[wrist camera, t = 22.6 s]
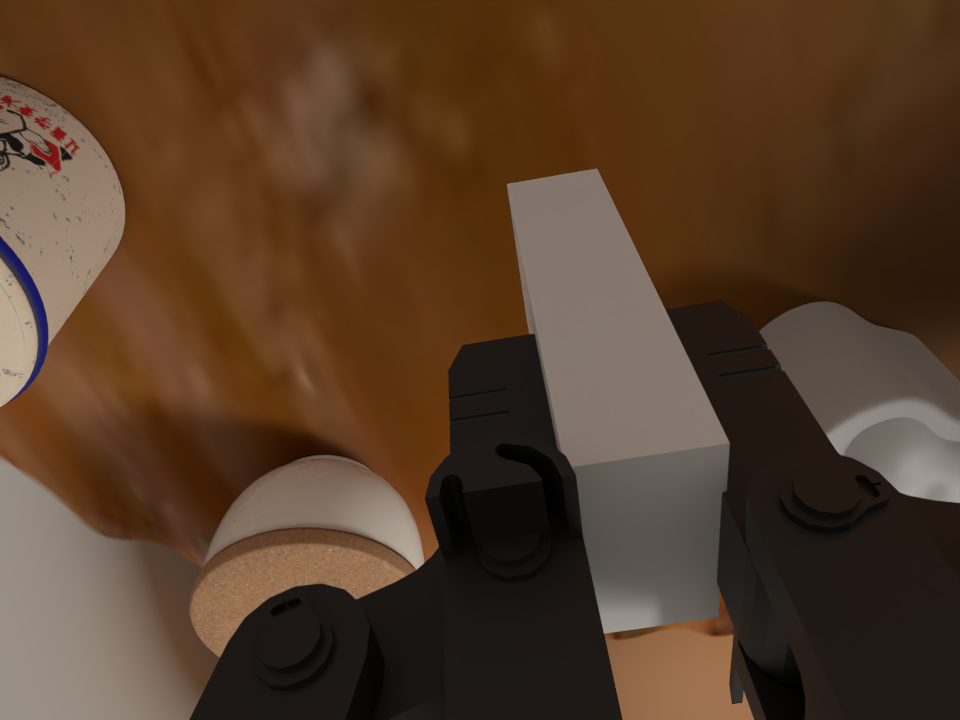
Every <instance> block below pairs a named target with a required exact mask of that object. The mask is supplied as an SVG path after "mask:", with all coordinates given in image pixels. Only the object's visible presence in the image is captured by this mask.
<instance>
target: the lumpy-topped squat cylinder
mask: <svg viewBox="0 0 960 720" xmlns="http://www.w3.org/2000/svg"><path fill="white" fill-rule="evenodd" d="M759 332H760V334H761V335H762V337H763V338H764V340H765V342H766V343H767V347H768V350H769V349H771V351H772V352H773V354H774V355H775V357H776V358H777V360H778V362H779V363H780V365H781V370H782V371H785V372H786V374H787V375H788V377H789V378H790V380H791V382H792V383H793V385H794V386H795V388H796V389H797V391H798V392H799V394H800V395H801V397H802V398H803V400H804V402H805V403H806V405H807V406H808V408H809V409H810V411H811V412H812V414H813V415H814V417H815V418H816V420H817V422H818V423H819V425H820V426H821V428H822V429H823V431H824V432H825V434H826V435H827V437H828V438H829V440H830V442H831V443H832V445H833V446H834V448H835V449H836V451H837V452H838V453H839V454H840V455H843V456H847V457H851V458H854V459H855V460H857V461H859V462H861V463H863V464H865V465H867V466H869V467H871V468H872V469H874V470H876V471H878V472H879V473H880V474H881V475H882V476H883V477H884V478H885V479H886V480H887V481H889V482H890V483H891V484H892V485H893V486H894V487H895V488H896V489H897V490H898V491H899V492H900V493H903V494H906V495H909V496H914V497H919V498H925V499H930V500H937V501H946V502H956V503H960V381H959V380H958V379H957V378H956V377H955V376H954V375H953V374H952V373H951V372H950V371H949V370H948V369H947V368H946V367H945V366H944V365H943V363H942V362H941V361H940V360H939V359H938V358H937V357H936V356H935V355H934V354H933V353H932V352H931V351H930V350H929V349H928V348H927V347H926V346H925V345H924V344H923V343H922V342H921V341H920V340H919V339H918V338H917V337H915V336H914V335H912V334H910V333H907V332H904V331H900V330H895V329H890V328H885V327H881V326H878V325H875V324H873V323H870V322H868V321H866V320H865V319H863V318H862V317H860V316H859V315H857V314H856V313H854V312H853V311H851V310H850V309H848V308H846V307H844V306H842V305H840V304H837V303H833V302H826V301H822V302H813V303H808V304H805V305H802V306H799V307H796V308H794V309H791V310H789V311H787V312H785V313H783V314H782V315H780V316H778V317H777V318H775V319H774V320H772V321H771V322H770V323H768V324H767V325H766V326H765V327H763V328H762V329H761V330H760V331H759Z"/></svg>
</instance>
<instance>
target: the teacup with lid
mask: <svg viewBox="0 0 960 720" xmlns="http://www.w3.org/2000/svg"><path fill="white" fill-rule="evenodd" d="M124 224H125V202H124V197H123V192H122V188H121V185H120V181H119V179H118V176H117V174H116V171H115V169H114V167H113V165H112V163H111V161H110V159H109V158H108V156H107V154H106V153H105V151H104V150H103V148H102V147H101V146H100V144H99V143H98V141H97V140H96V139H95V138H94V137H93V135H92V134H91V133H90V132H89V131H88V130H87V129H86V128H85V127H84V126H83V125H82V124H81V123H80V122H79V121H78V120H77V119H76V118H75V117H74V116H72V115H71V114H70V113H69V112H68V111H66V110H65V109H64V108H62V107H61V106H60V105H58V104H57V103H56V102H54V101H52V100H51V99H49V98H48V97H46V96H44V95H43V94H41V93H39V92H37V91H35V90H34V89H31V88H29V87H27V86H25V85H23V84H20V83H18V82H15V81H12V80H10V79H7V78H3V77H0V407H1V406H3V405H5V404H7V403H9V402H10V401H12V400H13V399H15V398H16V397H18V396H19V395H20V394H21V393H22V392H23V391H25V390H26V389H27V388H28V386H29V385H30V384H31V383H32V382H33V381H34V379H35V378H36V376H37V375H38V373H39V371H40V369H41V367H42V365H43V363H44V360H45V357H46V353H47V348H48V345H49V344H50V342H51V341H52V339H53V338H54V337H55V335H56V334H57V332H58V331H59V330H60V328H61V327H62V325H63V324H64V323H65V321H66V320H67V318H68V317H69V316H70V314H71V313H72V311H73V310H74V309H75V307H76V306H77V305H78V303H79V302H80V300H81V299H82V298H83V296H84V295H85V293H86V292H87V291H88V289H89V288H90V286H91V285H92V284H93V282H94V281H95V279H96V278H97V277H98V275H99V274H100V272H101V271H102V270H103V268H104V267H105V265H106V264H107V263H108V261H109V260H110V258H111V257H112V255H113V254H114V252H115V251H116V249H117V247H118V245H119V243H120V240H121V237H122V234H123V230H124Z"/></svg>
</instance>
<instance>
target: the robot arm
mask: <svg viewBox="0 0 960 720" xmlns="http://www.w3.org/2000/svg"><path fill="white" fill-rule="evenodd" d="M507 189H508V196H509V202H510V209H511V216H512V223H513V230H514V236H515V243H516V250H517V257H518V264H519V270H520V277H521V284H522V291H523V298H524V304H525V311H526V318H527V324H528V329H529V335H523V336H517V337H510V338H504V339H498V340H492V341H486V342H480V343H473V344H467V345H463V346H462V347H461V349H460V351H459V353H458V354H457V356H456V358H455V360H454V362H453V363H452V365H451V367H450V369H449V370H448V375H449V400H450V403H449V415H450V455H449V456H447V457H446V458H445V459H444V460H443V462H442V463H441V464H440V465H439V467H438V468H437V469H436V470H435V472H434V473H433V474H432V475H431V477H430V481H429V485H428V488H427V492H426V496H425V501H426V504H427V507H428V511H429V514H430V517H431V520H432V524H433V527H434V530H435V534H436V537H437V540H438V543H439V548H438V549H437V550H436V552H435V553H434V554H433V556H432V557H431V558H430V559H428V560H427V561H426V562H425V563H424V564H423V565H421V566H420V567H419V568H418V569H417V570H416V571H414V572H412V573H410V574H409V575H407V576H405V577H403V578H402V579H400V580H398V581H396V582H394V583H392V584H389V585H387V586H385V587H383V588H380V589H378V590H376V591H374V592H372V593H369V594H367V595H365V596H363V597H360V598H358V599H355V598H354V597H353V596H352V595H351V594H350V593H349V592H347V591H346V590H345V589H341V588H338V587H334V586H330V585H327V584H323V583H320V584H311V585H302V586H295V587H293V588H290V589H288V590H286V591H284V592H281V593H279V594H277V595H275V596H272V597H270V598H268V599H267V600H266V601H265V602H263V603H262V604H261V605H260V606H258V607H257V608H256V609H255V610H254V611H252V612H251V613H250V614H249V615H247V616H246V617H245V618H244V620H243V621H242V623H241V624H240V626H239V627H238V628H237V630H236V631H235V633H234V634H233V636H232V637H231V638H230V640H229V641H228V643H227V645H226V647H225V649H224V651H223V653H222V655H221V657H220V659H219V661H218V663H217V665H216V667H215V669H214V671H213V673H212V675H211V677H210V680H209V681H208V683H207V685H206V687H205V689H204V692H203V693H202V696H201V698H200V700H199V702H198V704H197V706H196V708H195V710H194V712H193V714H192V716H191V718H190V720H622V716H621V711H620V706H619V702H618V697H617V693H616V688H615V683H614V679H613V674H612V669H611V665H610V660H609V655H608V650H607V646H606V641H605V636H604V633H611V632H618V631H625V630H632V629H640V628H647V627H654V626H661V625H668V624H676V623H683V622H690V621H697V620H705V619H712V618H718V616H719V600H720V592H721V595H722V597H723V600H724V603H725V605H726V608H727V611H728V613H729V616H730V618H731V621H732V624H733V626H734V637H733V648H732V659H731V670H730V681H729V685H730V693H731V699H732V704H736V703H742V700H743V691H744V692H745V695H746V698H747V701H748V703H749V706H750V708H751V712H752V714H753V717H754V720H960V503H956V502H946V501H937V500H930V499H925V498H919V497H914V496H909V495H906V494H903V493H900V492H899V491H898V490H897V489H896V488H895V487H894V486H893V485H892V484H891V483H890V482H889V481H887V480H886V479H885V478H884V477H883V476H882V475H881V474H880V473H879V472H878V471H876V470H874V469H872V468H871V467H869V466H867V465H865V464H863V463H861V462H859V461H857V460H855V459H854V458H851V457H847V456H843V455H840V454H839V453H838V452H837V451H836V449H835V448H834V446H833V445H832V443H831V442H830V440H829V438H828V437H827V435H826V434H825V432H824V431H823V429H822V428H821V426H820V425H819V423H818V422H817V420H816V418H815V417H814V415H813V414H812V412H811V411H810V409H809V408H808V406H807V405H806V403H805V402H804V400H803V398H802V397H801V395H800V394H799V392H798V391H797V389H796V388H795V386H794V385H793V383H792V382H791V380H790V378H789V377H788V375H787V374H786V372H785V371H782V370H781V365H780V363H779V362H778V360H777V358H776V357H775V355H774V354H773V352H772V351H771V349H769V350H768V347H767V343H766V342H765V340H764V338H763V337H762V335H761V334H760V332H759V331H758V329H757V328H756V326H755V325H754V323H753V322H752V320H751V319H750V318H748V317H747V316H745V315H743V314H742V313H740V312H739V311H737V310H736V309H734V308H732V307H731V306H729V305H728V304H726V303H725V302H723V301H717V302H711V303H704V304H698V305H692V306H686V307H680V308H674V309H667V310H665V308H664V306H663V304H662V302H661V300H660V298H659V296H658V294H657V291H656V289H655V287H654V285H653V283H652V281H651V279H650V277H649V275H648V273H647V271H646V269H645V267H644V265H643V262H642V260H641V258H640V256H639V254H638V252H637V250H636V248H635V246H634V244H633V242H632V240H631V238H630V236H629V234H628V231H627V229H626V227H625V225H624V223H623V221H622V219H621V217H620V215H619V213H618V211H617V209H616V207H615V205H614V202H613V200H612V198H611V196H610V194H609V192H608V190H607V188H606V186H605V184H604V182H603V180H602V178H601V176H600V174H599V171H598V169H591V170H585V171H579V172H574V173H568V174H562V175H556V176H551V177H545V178H539V179H533V180H528V181H522V182H516V183H510V184H507Z"/></svg>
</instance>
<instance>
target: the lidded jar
mask: <svg viewBox="0 0 960 720" xmlns="http://www.w3.org/2000/svg"><path fill="white" fill-rule="evenodd" d="M423 564H424V557H423V551H422V545H421V540H420V535H419V532H418V529H417V525H416V523H415V520H414V518H413V516H412V513H411V512H410V510H409V508H408V506H407V504H406V503H405V501H404V500H403V499H402V497H401V496H400V495H399V493H398V492H397V491H396V490H395V489H394V488H393V487H392V486H391V485H390V484H389V483H388V482H387V481H385V480H384V479H383V478H381V477H380V476H378V475H377V474H375V473H374V472H373V471H372V470H371V469H369V468H368V467H366V466H365V465H363V464H361V463H359V462H358V461H355V460H352V459H350V458H346V457H342V456H336V455H312V456H307V457H303V458H300V459H297V460H295V461H293V462H291V463H289V464H287V465H284V466H281V467H278V468H276V469H274V470H272V471H270V472H268V473H266V474H265V475H263V476H262V477H260V478H259V479H257V480H256V481H255V482H253V483H252V484H251V485H249V486H248V487H247V488H246V489H245V490H244V491H243V493H242V494H241V495H240V496H239V497H238V498H237V499H236V500H235V501H234V502H233V503H232V505H231V506H230V508H229V510H228V511H227V513H226V514H225V516H224V518H223V519H222V521H221V522H220V524H219V526H218V528H217V530H216V532H215V534H214V536H213V538H212V541H211V543H210V546H209V549H208V552H207V555H206V558H205V561H204V564H203V567H202V570H201V572H200V573H199V575H198V577H197V579H196V582H195V586H194V588H193V592H192V595H191V598H190V604H189V605H190V606H189V614H190V618H191V622H192V625H193V627H194V628H195V631H196V633H197V635H198V637H199V638H200V639H201V640H202V641H203V643H204V644H205V645H206V646H207V647H208V648H209V649H210V650H212V651H213V652H214V653H215V654H216V655H217V656H219V657H221V655H222V653H223V651H224V649H225V647H226V645H227V643H228V641H229V640H230V638H231V637H232V636H233V634H234V633H235V631H236V630H237V628H238V627H239V626H240V624H241V623H242V621H243V620H244V618H245V617H246V616H247V615H249V614H250V613H251V612H252V611H254V610H255V609H256V608H257V607H258V606H260V605H261V604H262V603H263V602H265V601H266V600H267V599H268V598H270V597H272V596H275V595H277V594H279V593H281V592H284V591H286V590H288V589H290V588H293V587H295V586H302V585H311V584H320V583H323V584H327V585H330V586H334V587H338V588H341V589H345V590H346V591H347V592H349V593H350V594H351V595H352V596H353V597H354V598H355V599H358V598H360V597H363V596H365V595H367V594H369V593H372V592H374V591H376V590H378V589H380V588H383V587H385V586H387V585H389V584H392V583H394V582H396V581H398V580H400V579H402V578H403V577H405V576H407V575H409V574H410V573H412V572H414V571H416V570H417V569H418V568H419V567H420V566H421V565H423Z"/></svg>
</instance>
